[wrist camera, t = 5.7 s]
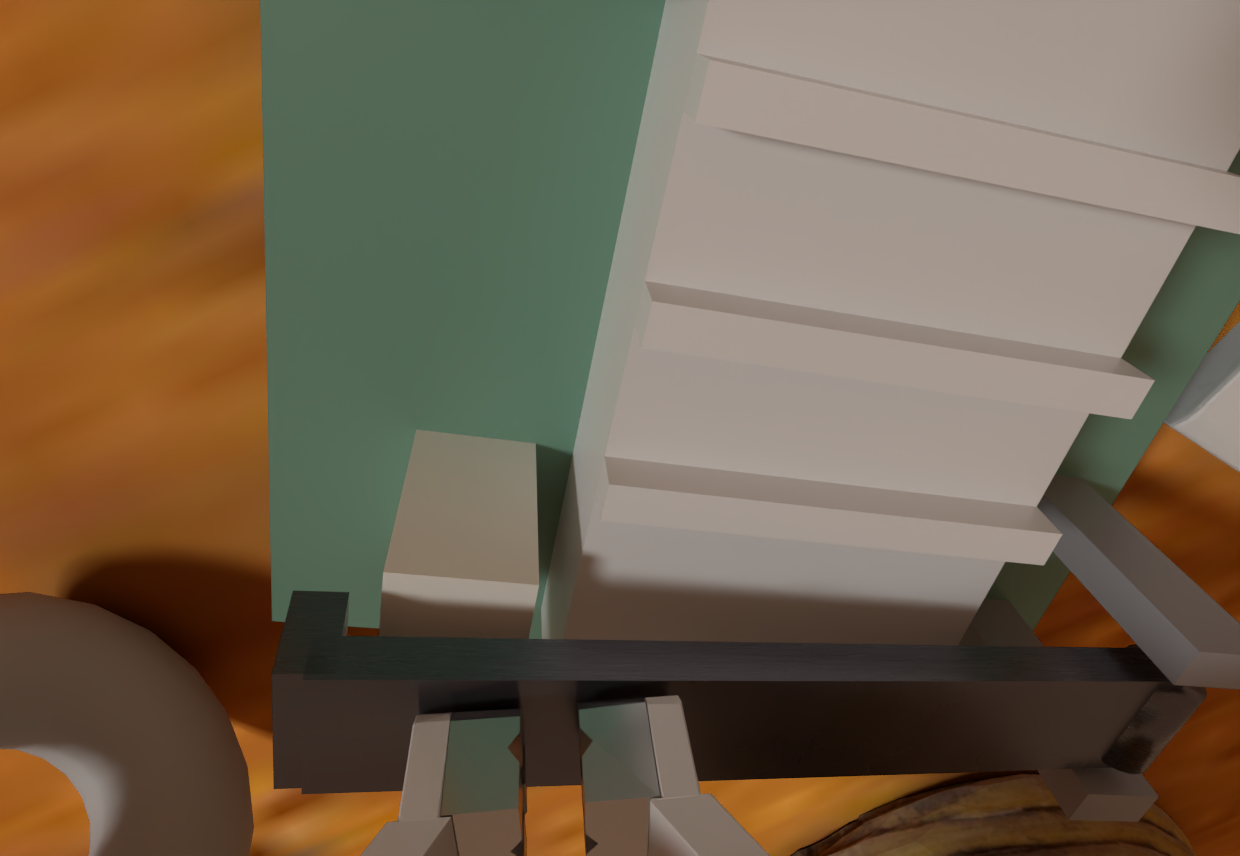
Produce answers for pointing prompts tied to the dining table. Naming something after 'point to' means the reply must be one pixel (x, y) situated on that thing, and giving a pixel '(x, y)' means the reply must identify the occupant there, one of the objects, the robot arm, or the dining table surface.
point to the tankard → (998, 826)
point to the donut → (123, 729)
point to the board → (744, 317)
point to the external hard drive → (1213, 402)
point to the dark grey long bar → (717, 703)
